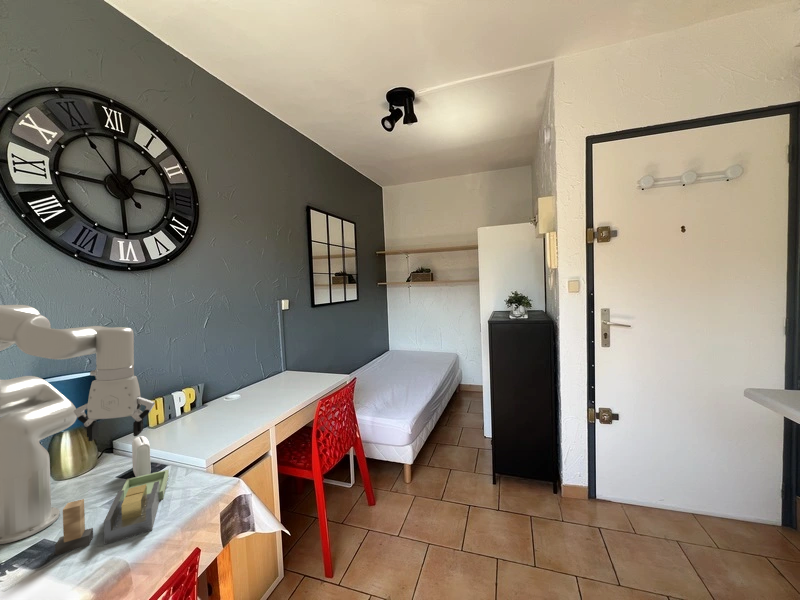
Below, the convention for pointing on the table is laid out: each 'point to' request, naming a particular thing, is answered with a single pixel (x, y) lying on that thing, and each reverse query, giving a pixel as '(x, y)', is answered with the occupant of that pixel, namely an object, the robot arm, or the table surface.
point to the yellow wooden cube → (132, 506)
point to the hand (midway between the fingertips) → (116, 436)
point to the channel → (132, 526)
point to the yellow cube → (138, 491)
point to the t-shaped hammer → (73, 529)
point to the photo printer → (141, 456)
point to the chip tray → (148, 482)
